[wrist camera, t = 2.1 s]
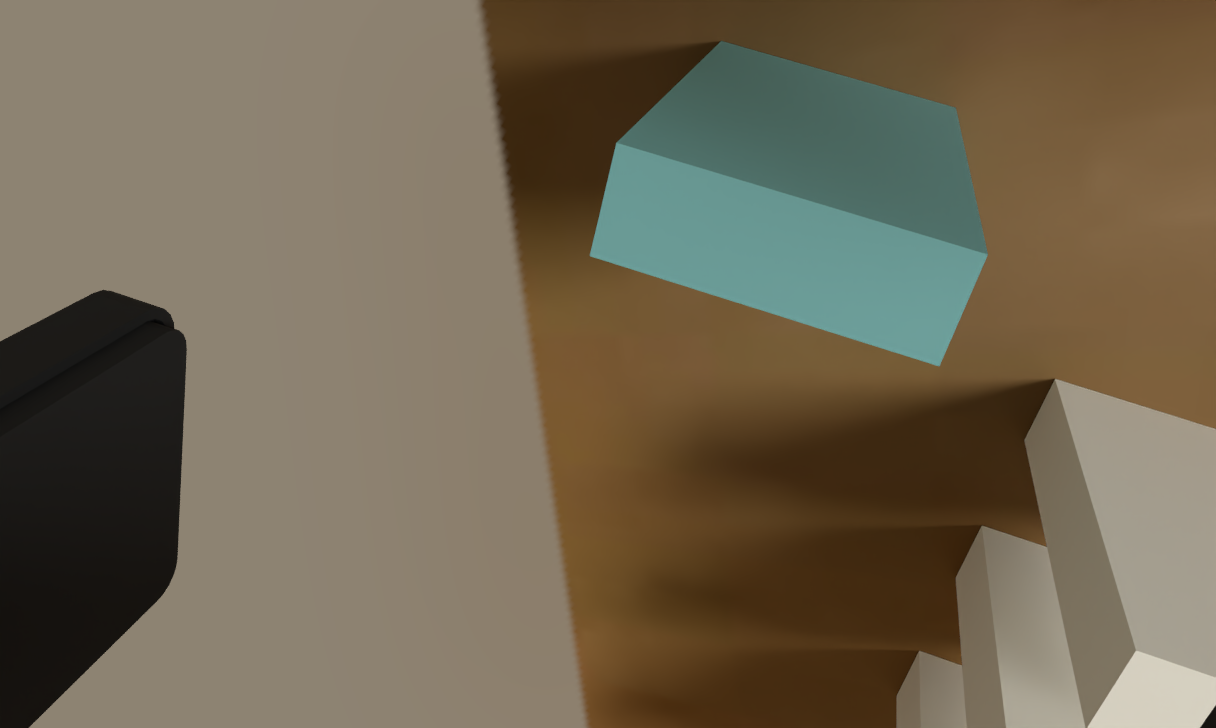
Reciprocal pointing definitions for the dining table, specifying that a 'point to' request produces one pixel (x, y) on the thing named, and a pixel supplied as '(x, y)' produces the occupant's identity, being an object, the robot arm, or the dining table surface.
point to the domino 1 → (801, 200)
